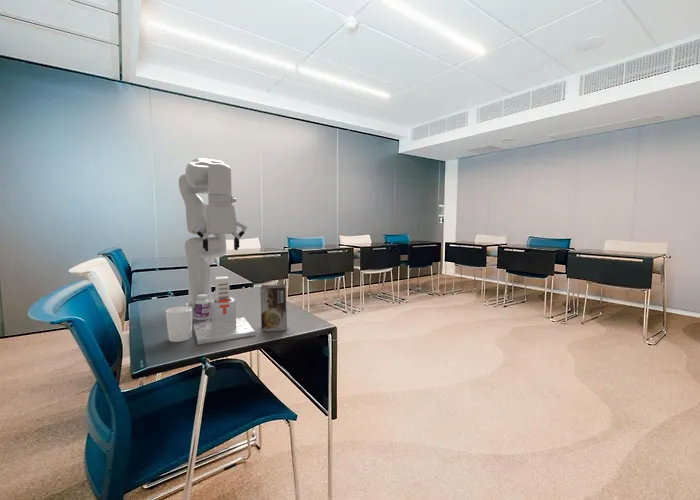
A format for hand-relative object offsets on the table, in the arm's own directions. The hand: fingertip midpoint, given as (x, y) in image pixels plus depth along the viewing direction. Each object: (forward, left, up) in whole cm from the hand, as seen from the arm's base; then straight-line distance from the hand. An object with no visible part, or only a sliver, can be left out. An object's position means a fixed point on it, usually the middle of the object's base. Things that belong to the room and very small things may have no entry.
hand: (221, 250), depth 111 cm
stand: (0, 0, -29) cm, 29 cm away
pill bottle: (-20, -5, -30) cm, 36 cm away
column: (0, 0, -28) cm, 28 cm away
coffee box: (+5, +17, -30) cm, 34 cm away
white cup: (0, -14, -30) cm, 33 cm away
